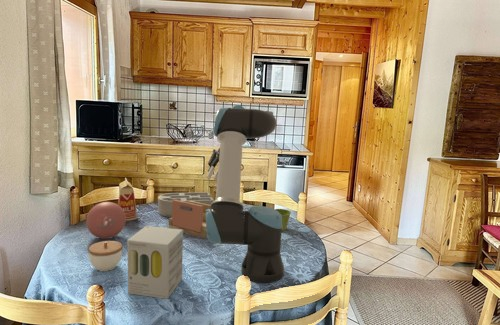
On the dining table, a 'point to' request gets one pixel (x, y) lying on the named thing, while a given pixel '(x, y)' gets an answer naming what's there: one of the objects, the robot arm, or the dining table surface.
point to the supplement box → (155, 261)
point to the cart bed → (203, 231)
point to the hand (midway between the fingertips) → (211, 178)
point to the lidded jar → (105, 255)
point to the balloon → (106, 220)
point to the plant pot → (284, 217)
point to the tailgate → (187, 215)
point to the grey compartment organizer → (166, 200)
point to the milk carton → (127, 200)
